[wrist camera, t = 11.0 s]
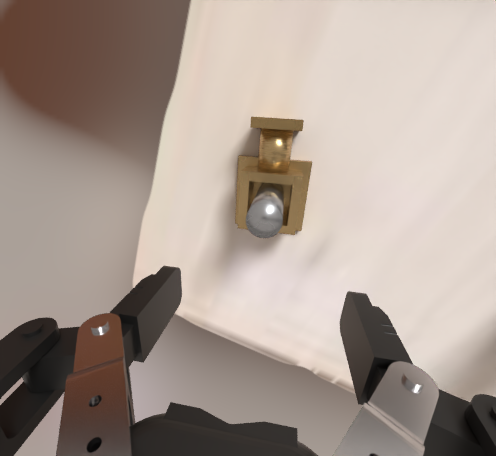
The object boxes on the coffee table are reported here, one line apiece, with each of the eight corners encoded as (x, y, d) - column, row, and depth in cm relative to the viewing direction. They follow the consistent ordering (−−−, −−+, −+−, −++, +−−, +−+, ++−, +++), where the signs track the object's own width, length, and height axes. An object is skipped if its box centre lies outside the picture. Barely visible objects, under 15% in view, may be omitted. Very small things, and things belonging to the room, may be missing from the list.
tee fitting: (317, 122, 29) (323, 121, 24) (300, 228, 34) (302, 245, 29) (241, 117, 30) (232, 115, 25) (236, 221, 35) (228, 236, 30)
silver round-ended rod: (285, 182, 31) (284, 205, 22) (282, 208, 32) (280, 240, 23) (258, 180, 32) (246, 201, 22) (256, 205, 33) (244, 235, 24)
